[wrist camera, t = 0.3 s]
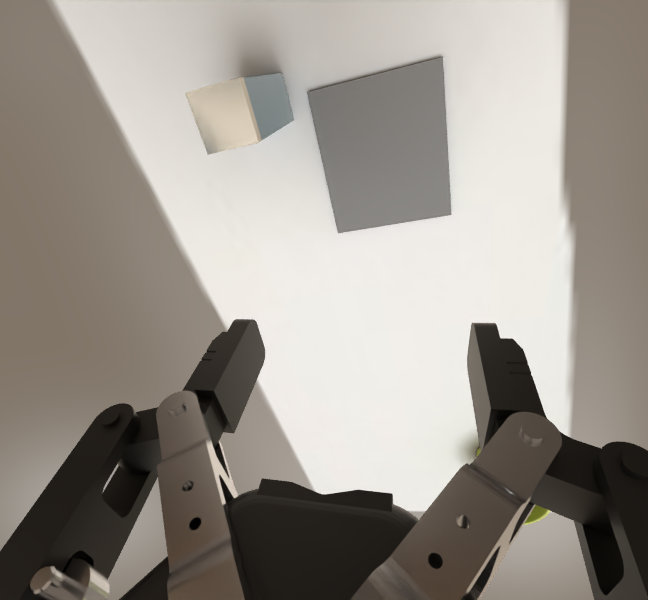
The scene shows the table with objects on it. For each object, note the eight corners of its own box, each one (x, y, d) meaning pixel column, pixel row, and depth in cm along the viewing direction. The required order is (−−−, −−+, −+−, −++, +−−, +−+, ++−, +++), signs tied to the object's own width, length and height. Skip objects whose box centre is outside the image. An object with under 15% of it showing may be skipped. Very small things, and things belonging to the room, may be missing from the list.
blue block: (242, 83, 35) (185, 92, 25) (282, 72, 34) (239, 77, 24) (255, 129, 37) (207, 154, 27) (294, 120, 36) (258, 142, 26)
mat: (308, 91, 35) (307, 92, 34) (441, 57, 32) (442, 56, 31) (338, 231, 42) (338, 233, 41) (450, 212, 39) (451, 214, 38)
